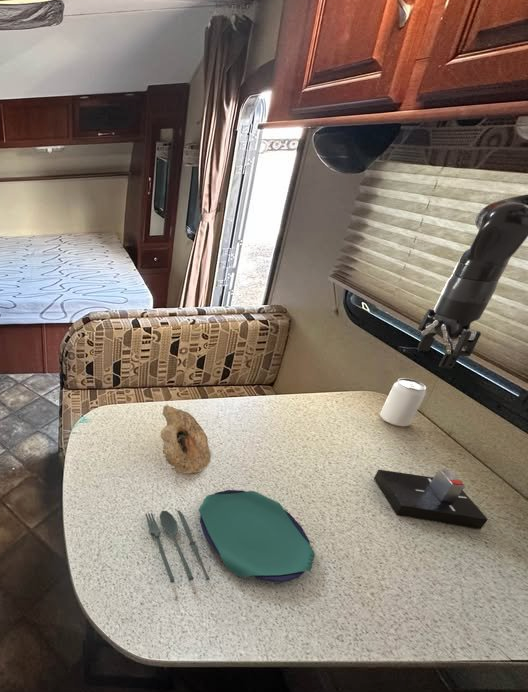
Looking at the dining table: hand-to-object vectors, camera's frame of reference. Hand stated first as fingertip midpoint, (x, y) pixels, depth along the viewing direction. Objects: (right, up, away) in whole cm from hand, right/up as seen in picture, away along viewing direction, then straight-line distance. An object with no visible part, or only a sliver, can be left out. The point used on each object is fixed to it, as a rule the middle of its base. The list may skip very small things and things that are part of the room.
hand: (433, 358), depth 90 cm
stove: (-13, -31, -10) cm, 35 cm away
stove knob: (-11, -28, -12) cm, 33 cm away
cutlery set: (-58, -36, -15) cm, 70 cm away
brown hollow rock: (-59, -25, +6) cm, 64 cm away
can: (+3, -18, +13) cm, 22 cm away
